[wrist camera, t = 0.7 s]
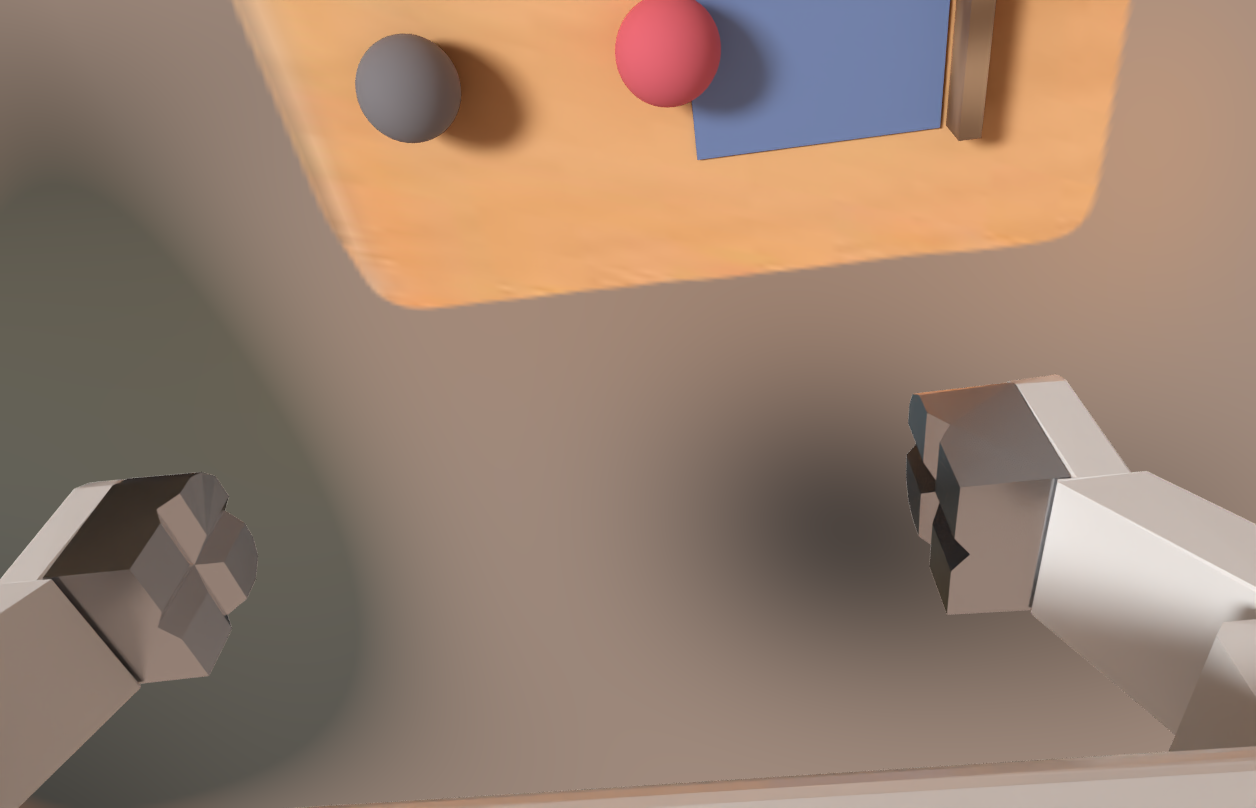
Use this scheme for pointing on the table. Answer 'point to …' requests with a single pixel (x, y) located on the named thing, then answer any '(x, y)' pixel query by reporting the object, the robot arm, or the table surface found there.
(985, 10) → the stopper wall
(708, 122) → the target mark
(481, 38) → the table surface
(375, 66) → the grey ball
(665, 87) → the object ball
